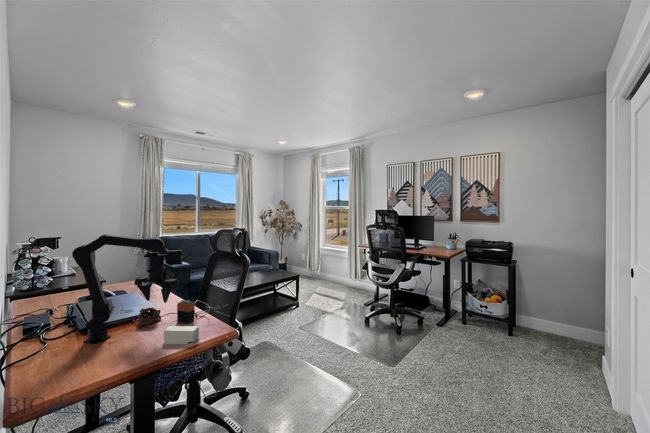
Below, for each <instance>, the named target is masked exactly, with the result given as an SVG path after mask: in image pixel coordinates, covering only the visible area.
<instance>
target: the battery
mask: <svg viewBox="0 0 650 433" xmlns="http://www.w3.org/2000/svg"><path fill="white" fill-rule="evenodd" d="M176 311H177V313H176V317H177V318H176V320H177V323H182V324H186V325H188V324H190V323H192V322H194V321H195V302H193V301H191V300H185V299H182V300H181V301H180V302H177V304H176Z"/></svg>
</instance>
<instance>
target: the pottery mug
mask: <svg viewBox="0 0 650 433" xmlns="http://www.w3.org/2000/svg"><path fill="white" fill-rule="evenodd" d="M156 320H159V321H162V316H161V313H160V311H159V310H158V309H156V308H154V307H145V308H144V307H143V308H141V309H140V310H139V314H138V326H139V327H140V328H141V327H142V326H145V325H148V324H151V323H153V322H154V321H156Z"/></svg>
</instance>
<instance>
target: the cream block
mask: <svg viewBox="0 0 650 433" xmlns="http://www.w3.org/2000/svg"><path fill="white" fill-rule="evenodd" d="M199 335H200V326H199V325H198V326H197V325H196V326H195V325H189V326H188V325H185V326H184V325H170V326H168V327H167V328H165V329H164V330H163V342H164V343H165V342H190V343H192V342H193V343H195V342H196V341H197V340H198V338H199Z"/></svg>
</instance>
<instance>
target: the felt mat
mask: <svg viewBox="0 0 650 433" xmlns="http://www.w3.org/2000/svg"><path fill="white" fill-rule="evenodd" d="M188 344H189V342H164V344H163V345H188Z"/></svg>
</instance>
